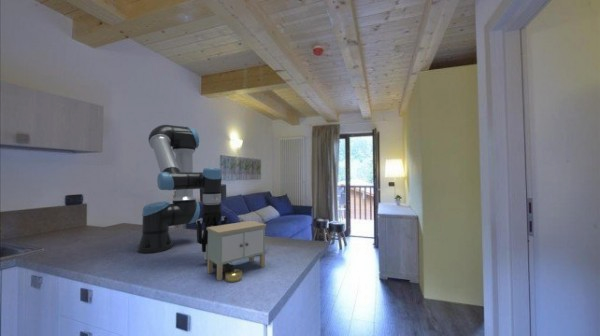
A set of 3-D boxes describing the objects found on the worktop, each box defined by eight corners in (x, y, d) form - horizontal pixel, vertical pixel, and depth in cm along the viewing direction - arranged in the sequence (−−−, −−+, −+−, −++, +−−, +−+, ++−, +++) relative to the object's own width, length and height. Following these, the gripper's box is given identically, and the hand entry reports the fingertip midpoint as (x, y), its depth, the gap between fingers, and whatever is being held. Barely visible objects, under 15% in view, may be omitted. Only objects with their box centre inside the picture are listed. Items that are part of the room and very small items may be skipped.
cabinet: (205, 272, 95) (206, 227, 95) (252, 259, 109) (252, 220, 109) (218, 282, 86) (219, 232, 86) (267, 267, 100) (267, 224, 100)
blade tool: (204, 260, 104) (205, 232, 105) (213, 258, 107) (214, 230, 107) (225, 274, 90) (225, 241, 90) (235, 271, 93) (235, 239, 93)
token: (221, 281, 87) (222, 274, 87) (230, 275, 93) (230, 268, 93) (237, 283, 85) (237, 276, 85) (244, 276, 91) (244, 269, 91)
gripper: (194, 206, 96) (193, 265, 96) (234, 202, 108) (233, 255, 107) (188, 204, 102) (187, 260, 101) (226, 201, 113) (226, 251, 113)
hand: (211, 257), depth 104 cm, fingers closed on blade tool, 4 cm apart
